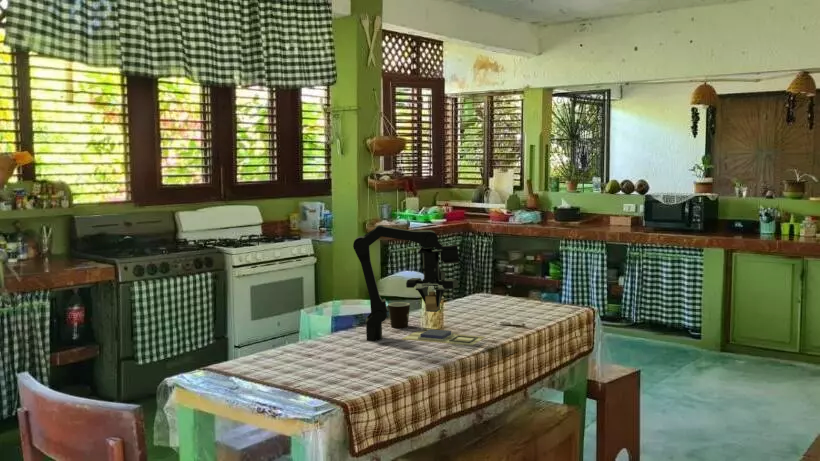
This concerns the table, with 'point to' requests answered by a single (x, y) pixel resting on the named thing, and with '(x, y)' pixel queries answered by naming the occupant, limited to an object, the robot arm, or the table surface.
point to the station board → (452, 340)
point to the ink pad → (436, 335)
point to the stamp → (431, 302)
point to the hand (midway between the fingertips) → (432, 306)
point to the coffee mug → (399, 314)
